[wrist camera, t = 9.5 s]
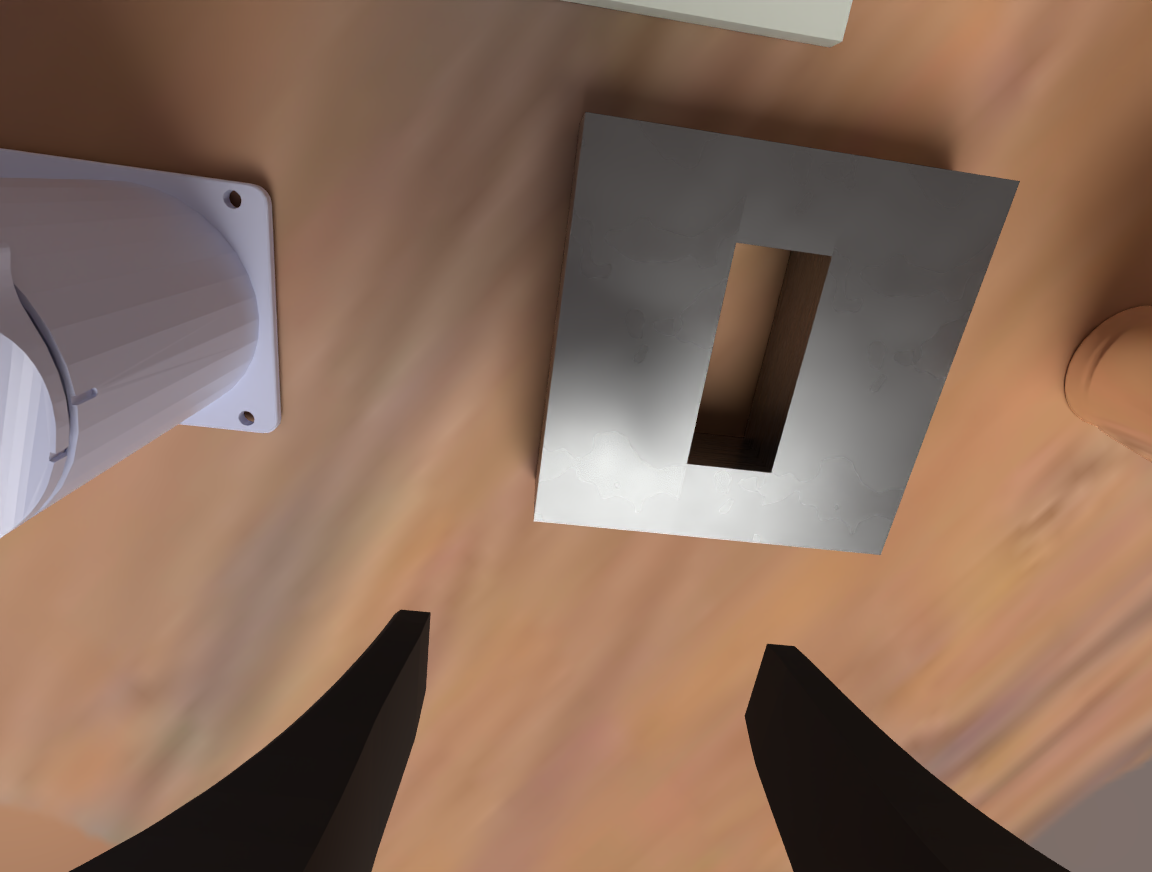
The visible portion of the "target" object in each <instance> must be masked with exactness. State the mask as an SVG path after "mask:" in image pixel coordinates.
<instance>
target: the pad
mask: <svg viewBox="0 0 1152 872" xmlns="http://www.w3.org/2000/svg"><path fill="white" fill-rule="evenodd" d="M562 1H568V2H574V3H579V4H585V5H591V6H596V7H602V8H608V9H613V10H619V11H625V12H631V13H636V14H642V15H648V16H653V17H659V18H665V19H670V20H676V21H682V22H687V23H693V24H699V25H705V26H710V27H716V28H722V29H727V30H733V31H739V32H744V33H750V34H756V35H761V36H767V37H773V38H779V39H784V40H790V41H796V42H801V43H807V44H813V45H818V46H824V47H832V46H834V45H836V44H838V43H840V42H842V40H843V36H844V32H845V28H846V25H847V21H848V17H849V13H850V9H851V5H852V1H853V0H562Z"/></svg>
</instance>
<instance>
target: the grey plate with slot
mask: <svg viewBox="0 0 1152 872" xmlns="http://www.w3.org/2000/svg"><path fill="white" fill-rule="evenodd" d="M1019 182H1020V181H1015V180H1009V179H1002V178H996V177H990V176H984V175H977V174H971V173H965V172H959V171H952V170H946V169H940V168H934V167H927V166H921V165H915V164H908V163H902V162H896V161H890V160H883V159H877V158H871V157H865V156H858V155H852V154H846V153H840V152H833V151H827V150H821V149H815V148H808V147H802V146H796V145H789V144H783V143H777V142H771V141H764V140H758V139H752V138H746V137H739V136H733V135H727V134H721V133H714V132H708V131H702V130H695V129H689V128H683V127H677V126H670V125H664V124H658V123H652V122H645V121H639V120H633V119H627V118H620V117H614V116H608V115H602V114H595V113H589V112H585V114H584V116H583V118H582V120H581V122H580V126H579V134H578V142H577V150H576V158H575V166H574V174H573V182H572V190H571V198H570V206H569V214H568V222H567V230H566V238H565V246H564V254H563V262H562V270H561V278H560V286H559V294H558V302H557V310H556V318H555V326H554V335H553V343H552V351H551V359H550V367H549V375H548V383H547V391H546V399H545V407H544V415H543V423H542V431H541V439H540V447H539V455H538V463H537V471H536V479H535V501H534V521H539V522H549V523H559V524H569V525H580V526H590V527H600V528H610V529H621V530H631V531H641V532H651V533H662V534H672V535H682V536H692V537H703V538H713V539H723V540H733V541H744V542H754V543H764V544H774V545H785V546H795V547H805V548H815V549H826V550H836V551H846V552H856V553H867V554H877V555H881V552H882V549H883V547H884V544H885V541H886V539H887V536H888V533H889V531H890V528H891V525H892V523H893V520H894V517H895V515H896V512H897V509H898V507H899V504H900V501H901V499H902V496H903V493H904V490H905V488H906V485H907V482H908V480H909V477H910V474H911V472H912V469H913V466H914V464H915V461H916V458H917V456H918V453H919V450H920V448H921V445H922V442H923V440H924V437H925V434H926V431H927V429H928V426H929V423H930V421H931V418H932V415H933V413H934V410H935V407H936V405H937V402H938V399H939V397H940V394H941V391H942V389H943V386H944V383H945V381H946V378H947V375H948V372H949V370H950V367H951V364H952V362H953V359H954V356H955V354H956V351H957V348H958V346H959V343H960V340H961V338H962V335H963V332H964V330H965V327H966V324H967V322H968V319H969V316H970V313H971V311H972V308H973V305H974V303H975V300H976V297H977V295H978V292H979V289H980V287H981V284H982V281H983V279H984V276H985V273H986V271H987V268H988V265H989V263H990V260H991V257H992V255H993V252H994V249H995V246H996V244H997V241H998V238H999V236H1000V233H1001V230H1002V228H1003V225H1004V222H1005V220H1006V217H1007V214H1008V212H1009V209H1010V206H1011V204H1012V201H1013V198H1014V196H1015V193H1016V190H1017V187H1018V185H1019ZM736 242H737V243H744V244H751V245H758V246H764V247H771V248H778V249H785V250H792V251H791V255H790V259H789V263H788V267H787V270H786V274H785V278H784V282H783V286H782V290H781V294H780V298H779V302H778V306H777V310H776V313H775V317H774V321H773V325H772V329H771V333H770V337H769V341H768V345H767V349H766V353H765V356H764V360H763V364H762V368H761V372H760V376H759V380H758V384H757V388H756V392H755V395H754V399H753V403H752V407H751V411H750V415H749V419H748V423H747V427H746V431H745V435H744V438H739V437H730V436H721V435H712V434H703V433H695V432H694V429H695V424H696V420H697V415H698V411H699V406H700V402H701V397H702V393H703V389H704V384H705V380H706V375H707V371H708V366H709V362H710V357H711V353H712V348H713V344H714V339H715V335H716V330H717V326H718V321H719V317H720V312H721V308H722V303H723V299H724V294H725V290H726V285H727V281H728V276H729V272H730V267H731V263H732V258H733V254H734V249H735V245H736Z"/></svg>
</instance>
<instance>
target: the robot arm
mask: <svg viewBox="0 0 1152 872" xmlns="http://www.w3.org/2000/svg"><path fill="white" fill-rule="evenodd" d="M233 190H234V191H236V192H237V193H238V194H239V195H240V197H241V200H242V201H241V205H240V206H239V207H238V208H236V207H234V206H233V205H232V204H231V202H230V199H229V197H230V193H231V192H232V191H233ZM244 411H248V412H250V413H251V414H252V415H253V416H254V419H255V420H254V421H253V422H252V421H249V420H247V419H246V418H245V416H244ZM280 422H281V404H280V380H279V357H278V334H277V311H276V288H275V264H274V241H273V218H272V202H271V198H270V196H269V194H268V193H267V191H266V190H265V189H263V188H262V187H261V186H259V185H256V184H251V183H244V182H237V181H230V180H223V179H216V178H209V177H202V176H195V175H187V174H180V173H173V172H166V171H159V170H152V169H145V168H138V167H131V166H124V165H117V164H110V163H103V162H96V161H89V160H82V159H75V158H68V157H61V156H53V155H46V154H39V153H32V152H25V151H18V150H11V149H4V148H0V538H1V537H3V536H4V535H6V534H7V533H9V532H11V531H12V530H14V529H15V528H17V527H18V526H20V525H22V524H23V523H24V522H26V521H27V520H29V519H30V518H32V517H34V516H35V515H37V514H38V513H40V512H41V511H43V510H45V509H46V508H48V507H49V506H51V505H52V504H54V503H56V502H57V501H59V500H60V499H62V498H63V497H65V496H66V495H68V494H70V493H71V492H73V491H74V490H76V489H77V488H79V487H81V486H82V485H84V484H85V483H87V482H88V481H90V480H92V479H93V478H95V477H96V476H98V475H99V474H101V473H103V472H104V471H106V470H107V469H109V468H110V467H112V466H114V465H115V464H117V463H118V462H120V461H121V460H123V459H125V458H126V457H128V456H129V455H131V454H132V453H134V452H136V451H137V450H139V449H140V448H142V447H143V446H145V445H147V444H148V443H150V442H151V441H153V440H154V439H156V438H157V437H159V436H161V435H162V434H164V433H165V432H167V431H168V430H170V429H172V428H173V427H175V426H176V425H178V424H182V425H192V426H201V427H211V428H220V429H229V430H239V431H248V432H258V433H269V432H271V431H273V430H275V429H276V428H277V427H278V425H279V424H280ZM429 629H430V612H420V611H409V610H400V611H398V612H397V613H396V614H395V615H394V616H393V617H392V619H391V620H390V621H389V623H388V624H387V625H386V626H385V628H384V629H383V630H382V631H381V633H380V634H379V635H378V636H377V638H376V639H375V640H374V641H373V642H372V644H371V645H370V646H369V647H368V648H367V649H366V651H365V652H364V653H363V654H362V655H361V656H360V657H359V658H358V659H357V661H356V662H355V663H354V664H353V665H352V666H351V667H350V668H349V669H348V670H347V671H346V672H345V674H344V675H343V676H342V677H341V678H340V679H339V680H338V681H337V682H336V683H335V684H334V685H333V686H332V687H331V688H330V689H329V690H328V691H327V692H326V693H325V694H324V695H323V696H322V697H321V698H320V699H319V700H318V701H317V702H316V703H314V704H313V705H312V706H311V707H310V708H309V709H308V710H307V711H306V712H305V713H304V714H303V715H302V716H301V717H300V718H298V719H297V720H296V721H295V722H294V723H293V724H292V725H291V726H289V727H288V728H287V729H286V730H285V731H284V732H283V733H281V734H280V735H279V736H278V737H276V738H275V739H274V740H273V741H272V742H270V743H269V744H268V745H267V746H266V747H264V748H263V749H262V750H261V751H259V752H258V753H257V754H255V755H254V756H253V757H251V758H250V759H249V760H247V761H246V762H245V763H244V764H242V765H241V766H240V767H238V768H237V769H236V770H234V771H233V772H232V773H230V774H229V775H228V776H226V777H225V778H223V779H222V780H221V781H219V782H218V783H216V784H215V785H214V786H212V787H211V788H209V789H208V790H206V791H205V792H203V793H202V794H200V795H199V796H197V797H196V798H194V799H193V800H191V801H189V802H188V803H186V804H185V805H183V806H182V807H180V808H179V809H177V810H176V811H174V812H173V813H171V814H169V815H168V816H166V817H165V818H163V819H162V820H160V821H159V822H157V823H155V824H154V825H152V826H150V827H149V828H147V829H145V830H144V831H142V832H140V833H139V834H137V835H135V836H133V837H132V838H130V839H128V840H126V841H124V842H122V843H121V844H119V845H117V846H115V847H113V848H112V849H110V850H108V851H106V852H104V853H103V854H101V855H99V856H97V857H95V858H93V859H92V860H90V861H88V862H86V863H84V864H83V865H81V866H79V867H77V868H75V869H73V870H71V871H69V872H371V871H372V868H373V864H374V861H375V857H376V854H377V851H378V848H379V845H380V842H381V839H382V836H383V833H384V830H385V827H386V824H387V821H388V818H389V815H390V812H391V809H392V806H393V803H394V800H395V797H396V794H397V791H398V788H399V785H400V782H401V779H402V776H403V773H404V770H405V767H406V764H407V761H408V758H409V755H410V752H411V749H412V746H413V743H414V740H415V736H416V732H417V727H418V723H419V719H420V714H421V709H422V705H423V700H424V696H425V691H426V678H427V662H428V645H429ZM745 720H746V724H747V729H748V734H749V739H750V744H751V748H752V752H753V756H754V760H755V764H756V767H757V770H758V773H759V776H760V779H761V782H762V785H763V788H764V791H765V793H766V796H767V799H768V802H769V805H770V807H771V810H772V813H773V816H774V819H775V821H776V824H777V827H778V830H779V832H780V835H781V838H782V841H783V844H784V846H785V849H786V852H787V855H788V857H789V860H790V863H791V866H792V869H793V871H794V872H1070V871H1069V870H1067V869H1065V868H1064V867H1062V866H1060V865H1059V864H1057V863H1056V862H1054V861H1052V860H1051V859H1049V858H1047V857H1046V856H1045V855H1043V854H1041V853H1040V852H1039V851H1037V850H1035V849H1034V848H1032V847H1031V846H1029V845H1028V844H1026V843H1025V842H1024V841H1022V840H1021V839H1019V838H1018V837H1016V836H1015V835H1013V834H1012V833H1010V832H1009V831H1008V830H1006V829H1005V828H1003V827H1002V826H1000V825H999V824H997V823H996V822H994V821H993V820H992V819H990V818H989V817H987V816H986V815H985V814H983V813H982V812H981V811H979V810H978V809H976V808H975V807H974V806H972V805H971V804H970V803H968V802H967V801H966V800H964V799H963V798H962V797H961V796H959V795H958V794H957V793H955V792H954V791H953V790H952V789H950V788H949V787H948V786H946V785H945V784H944V783H943V782H941V781H940V780H939V779H937V778H936V777H935V776H934V775H933V774H931V773H930V772H929V771H928V770H927V769H925V768H924V767H923V766H922V765H921V764H919V763H918V762H917V761H916V760H915V759H914V758H912V757H911V756H910V755H909V754H908V753H907V752H906V751H904V750H903V749H902V748H901V747H900V746H899V745H898V744H896V743H895V742H894V741H893V740H892V739H891V738H890V737H889V736H888V735H886V734H885V733H884V732H883V731H882V730H881V729H880V728H879V727H878V726H877V725H876V724H875V723H873V722H872V721H871V720H870V719H869V718H868V717H867V716H866V715H865V714H864V713H863V712H862V711H861V710H860V709H859V708H858V707H857V706H856V705H855V704H854V703H853V702H851V701H850V700H849V699H848V698H847V697H846V696H845V695H844V694H843V693H842V692H841V691H840V690H839V689H838V688H837V687H836V686H835V685H834V684H833V683H832V682H831V681H830V680H829V679H828V678H827V677H826V676H825V675H824V674H823V673H822V672H821V671H820V670H819V669H818V668H817V667H816V666H815V665H814V664H813V663H812V662H811V661H810V660H809V659H808V658H807V657H806V656H805V655H804V654H802V653H801V652H800V651H799V650H798V649H797V648H796V647H795V646H786V645H775V644H767V646H766V649H765V652H764V656H763V659H762V662H761V665H760V669H759V672H758V675H757V678H756V681H755V685H754V688H753V691H752V694H751V698H750V701H749V704H748V707H747V710H746V714H745Z"/></svg>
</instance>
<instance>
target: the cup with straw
mask: <svg viewBox="0 0 1152 872" xmlns="http://www.w3.org/2000/svg"><path fill="white" fill-rule="evenodd" d="M1065 394H1066V399H1067V402H1068V404H1069V407H1070V409H1071V410H1072V411H1073V413H1074V414H1075V415H1076V416H1077V417H1078V418H1080V419H1081V420H1082V421H1084V422H1086V423H1089V424H1091V425H1094V426H1097V427H1098V429H1099V430H1101V431H1102V432H1103V433H1105V434H1106V435H1107V436H1109V437H1110V438H1112V439H1113V440H1115V441H1117V442H1118V443H1120V444H1122V445H1123V446H1125V447H1127V448H1128V449H1130V450H1132V451H1133V452H1135V453H1137V454H1138V455H1140V456H1142V457H1143V458H1145V459H1146V460H1148V461H1150V462H1151V463H1152V305H1146V306H1139V307H1134V308H1130V309H1127V310H1125V311H1122V312H1120V313H1117V314H1115V315H1114V316H1112V317H1110V318H1109V319H1107V320H1105V321H1104V322H1103V323H1101V324H1100V325H1099V326H1098V327H1096V328H1095V329H1094V330H1093V331H1092V332H1091V333H1090V334H1089V335H1088V336H1087V337H1086V338H1085V339H1084V340H1083V342H1082V343H1081V344H1080V346H1079V347H1078V349H1077V350H1076V352H1075V353H1074V355H1073V357H1072V360H1071V362H1070V364H1069V367H1068V370H1067V374H1066V378H1065Z"/></svg>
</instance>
